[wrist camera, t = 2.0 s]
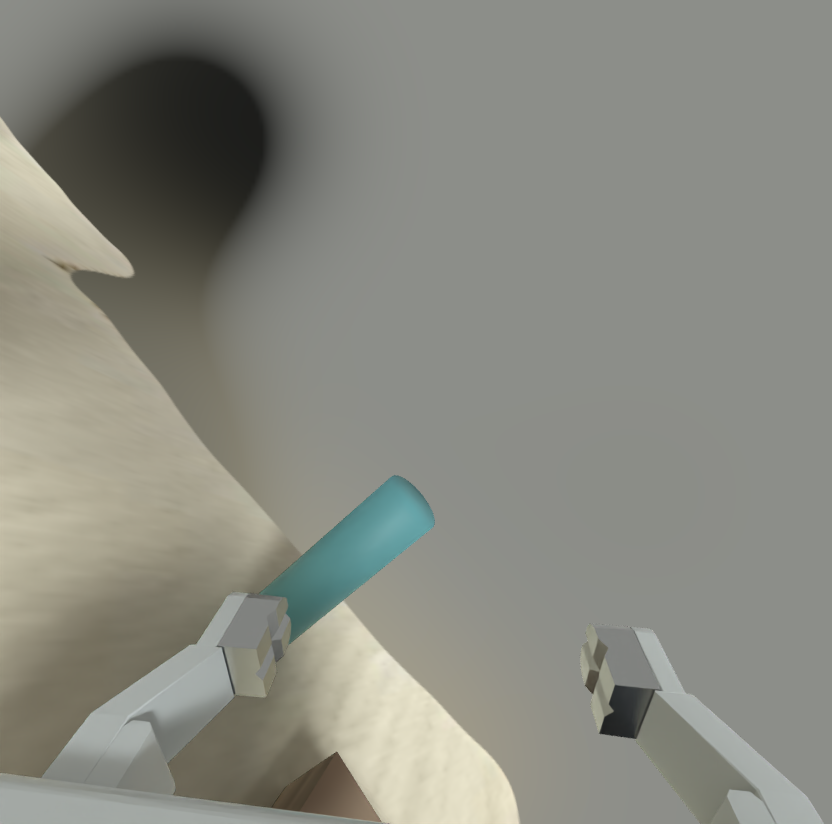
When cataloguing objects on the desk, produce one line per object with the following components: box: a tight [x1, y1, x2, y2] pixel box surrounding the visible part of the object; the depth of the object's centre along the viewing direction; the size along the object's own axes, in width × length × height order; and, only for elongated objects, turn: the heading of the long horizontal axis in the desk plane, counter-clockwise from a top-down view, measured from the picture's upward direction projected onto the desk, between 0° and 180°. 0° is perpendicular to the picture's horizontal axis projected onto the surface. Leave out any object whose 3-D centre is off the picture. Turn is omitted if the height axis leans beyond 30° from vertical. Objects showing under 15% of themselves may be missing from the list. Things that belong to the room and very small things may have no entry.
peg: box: [259, 475, 435, 645], centre depth 30 cm, size 4×4×18 cm
